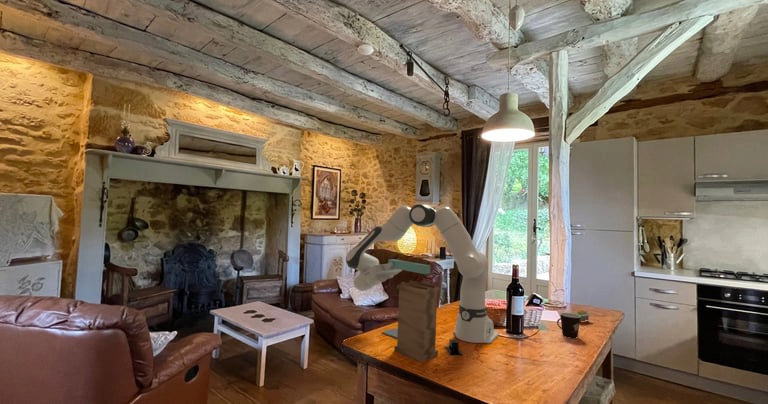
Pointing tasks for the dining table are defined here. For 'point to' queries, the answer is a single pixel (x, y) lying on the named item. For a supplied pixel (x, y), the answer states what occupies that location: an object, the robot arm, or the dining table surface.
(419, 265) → the teal square bar
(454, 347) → the black block on plate
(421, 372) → the dining table surface
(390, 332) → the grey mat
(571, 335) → the coffee mug
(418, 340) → the walnut stand
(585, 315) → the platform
